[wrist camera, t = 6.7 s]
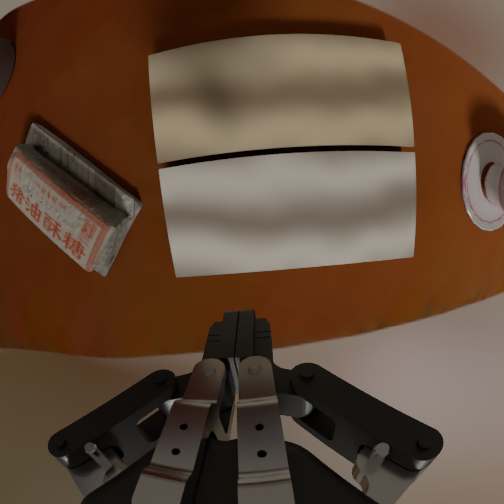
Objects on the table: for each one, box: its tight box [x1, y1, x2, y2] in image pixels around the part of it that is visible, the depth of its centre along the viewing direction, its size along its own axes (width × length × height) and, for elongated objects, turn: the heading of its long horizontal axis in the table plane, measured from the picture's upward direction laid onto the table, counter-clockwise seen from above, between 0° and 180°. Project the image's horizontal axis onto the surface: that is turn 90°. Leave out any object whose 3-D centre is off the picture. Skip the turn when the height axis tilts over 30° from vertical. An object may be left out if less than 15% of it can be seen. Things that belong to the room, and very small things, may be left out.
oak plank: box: [148, 34, 414, 163], centre depth 20 cm, size 10×22×3 cm, turn 96°
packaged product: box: [6, 123, 142, 277], centre depth 23 cm, size 18×5×10 cm
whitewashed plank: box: [159, 151, 416, 277], centre depth 23 cm, size 10×22×2 cm, turn 96°
